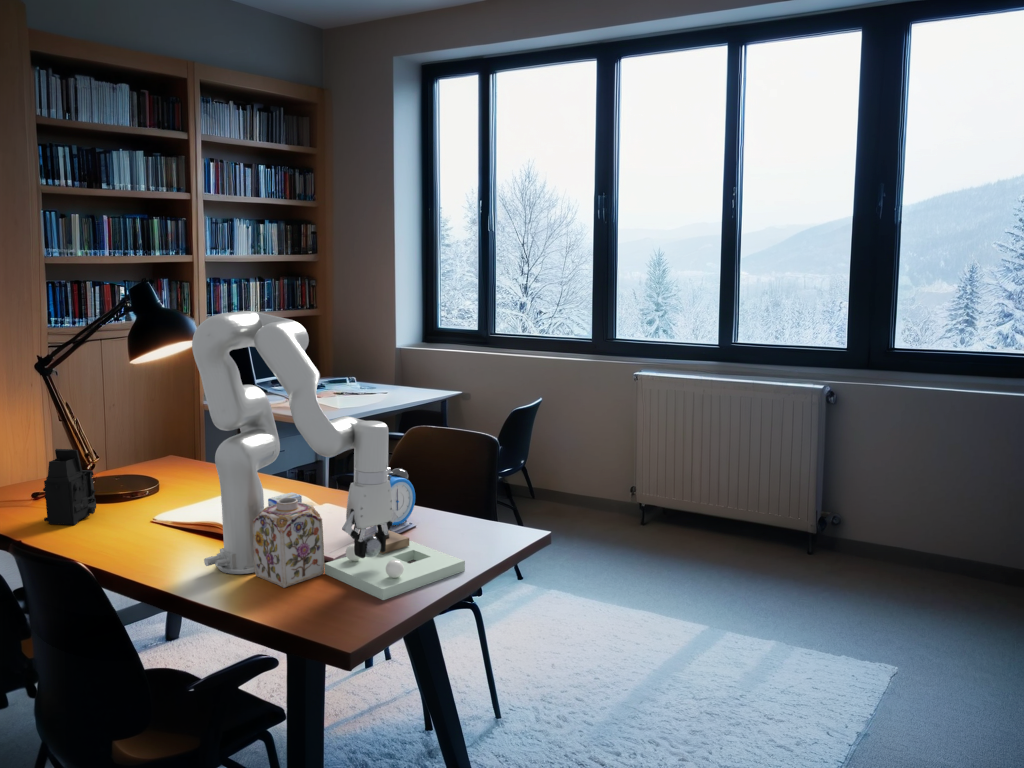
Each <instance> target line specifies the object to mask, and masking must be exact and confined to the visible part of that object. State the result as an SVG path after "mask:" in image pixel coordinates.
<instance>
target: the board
mask: <svg viewBox="0 0 1024 768" xmlns="http://www.w3.org/2000/svg"><path fill="white" fill-rule="evenodd" d="M391 560H399V561H400V562H401V563H402V564H403V566H404V571H403V573H402V575H401V576H400V577H398V578H391V577H389V576H388V575H387V573H386V565H387V563H388V562H389V561H391ZM411 561H414V562H411ZM410 562H411V563H410ZM465 571H466V561H465V560H464V559H461V558H459V557H455V556H453V555H450V554H448V553H445V552H442V551H440V550H437V549H434V548H432V547H429V546H426V545H424V544H422V543H418V542H416V541H413V540H410V539H409V546H406V547H403V548H400V549H397V550H394V551H390V552H387V553H384V554H383V553H380V552H379V554H378V555H376V556H374V557H365V558H360V559H359V560H357V561H351V560H349V559H348V558H347V556H344V557H340V558H338V559H337V558H336V559H334V560H331V561H328V562H324V575H327V576H329V577H331V578H334V579H336V580H338V581H340V582H342V583H344V584H347V585H349V586H351V587H353V588H356V589H357V590H359V591H362V592H364V593H366V594H368V595H370V596H372V597H375V598H378V599H380V600H382V601H386V600H388V599H390V598H394V597H396V596H400V595H402V594H405V593H407V592H409V591H413V590H416V589H418V588H422V587H424V586H427V585H430V584H432V583H435V582H437V581H438V582H439V581H440V580H443V579H447V578H448V577H451V576H454V575H457V574H460V573H462V572H465Z"/></svg>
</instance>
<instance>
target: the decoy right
mask: <svg viewBox="0 0 1024 768" xmlns="http://www.w3.org/2000/svg"><path fill="white" fill-rule="evenodd" d="M403 571H404V566H403V564H402V563H401V562H400V561H399V560H391V561H389V562H388V563H387V565H386V573H387V575H388V576H389V577H391V578H398V577H400V576H401V575H402V573H403Z"/></svg>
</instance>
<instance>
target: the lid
mask: <svg viewBox="0 0 1024 768" xmlns="http://www.w3.org/2000/svg"><path fill="white" fill-rule="evenodd" d="M372 535H373V536H375V534H372ZM409 540H410V537H408V536H405V535H403V534H401V533H397V532H394V531H392V530H390V529H389V530H388V534H387V535H386V551H385V552H381V551H380V553H383V554H384V553H387V552H390V551H394V550H397V549H400V548H403V547H406V546H409Z"/></svg>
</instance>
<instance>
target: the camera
mask: <svg viewBox="0 0 1024 768" xmlns="http://www.w3.org/2000/svg"><path fill="white" fill-rule="evenodd" d="M54 453H55V457H56V458H55V459H54V460H53V459H52V460H49V461H48V468H47V470H48V471H47V476H46V478H45V480H44V481H43V482H44V483H43V484H44V487H43V488H42V491H43V492H44V499H45V506H46V507H45V508H46V509H45V510H46V516H47V517H44V518H43V521H44V522H47V523H48V524H49V525H64V526H65V525H67V526H76V525H78V522H81V520H84V519H85V518H87V517H89V516H90V515H94V514H95V511H96V509H97V502H96V497H95V493H96V489H95V487H94V485H95V484H94V478H95V476H94V471H93V470H83V468H82V465H81V459H80V456H79V451H78V449H71V448H68V449H66V448H64V449H63V448H55V450H54Z"/></svg>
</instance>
